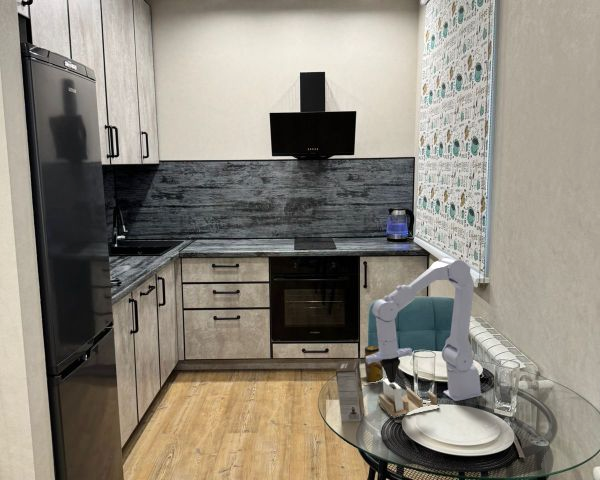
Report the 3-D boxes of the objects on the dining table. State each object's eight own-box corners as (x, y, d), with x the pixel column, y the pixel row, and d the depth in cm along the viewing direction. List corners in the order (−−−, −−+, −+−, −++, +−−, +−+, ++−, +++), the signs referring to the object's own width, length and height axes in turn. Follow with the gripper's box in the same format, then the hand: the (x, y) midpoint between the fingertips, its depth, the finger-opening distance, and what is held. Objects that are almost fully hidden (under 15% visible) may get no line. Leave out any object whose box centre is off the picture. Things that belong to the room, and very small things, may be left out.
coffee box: (344, 409, 177) (339, 360, 175) (364, 408, 176) (359, 359, 174) (340, 422, 168) (335, 371, 166) (362, 421, 167) (356, 370, 165)
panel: (391, 399, 177) (389, 378, 177) (403, 410, 169) (401, 388, 168) (384, 401, 177) (382, 379, 176) (396, 412, 168) (393, 389, 167)
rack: (422, 394, 181) (421, 383, 181) (439, 408, 170) (438, 397, 169) (378, 403, 178) (377, 392, 178) (393, 418, 166) (391, 406, 166)
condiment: (387, 381, 196) (384, 348, 195) (364, 385, 194) (361, 352, 193) (380, 374, 203) (377, 342, 202) (358, 378, 201) (354, 346, 200)
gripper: (403, 331, 176) (407, 373, 177) (360, 339, 173) (365, 381, 174) (413, 337, 169) (417, 380, 170) (368, 345, 166) (373, 389, 167)
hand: (391, 381), depth 172 cm, fingers closed
